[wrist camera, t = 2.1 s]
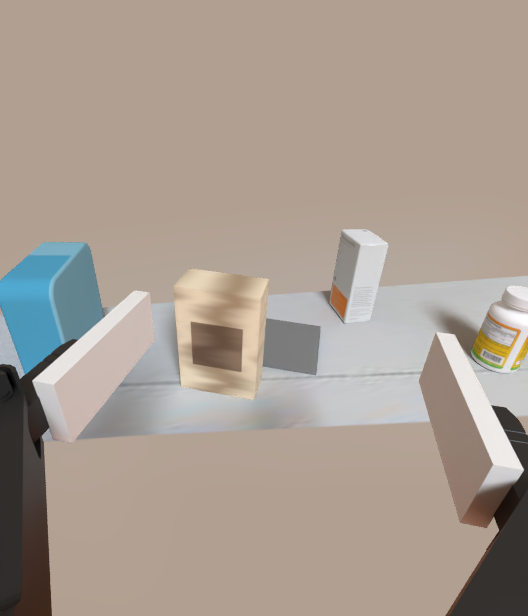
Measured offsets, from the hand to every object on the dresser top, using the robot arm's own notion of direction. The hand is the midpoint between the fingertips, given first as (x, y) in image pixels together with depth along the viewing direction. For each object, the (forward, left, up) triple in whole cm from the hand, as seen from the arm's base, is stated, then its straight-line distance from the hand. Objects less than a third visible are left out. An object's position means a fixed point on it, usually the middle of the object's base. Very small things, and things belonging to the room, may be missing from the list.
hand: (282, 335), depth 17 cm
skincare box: (+7, +34, -18) cm, 39 cm away
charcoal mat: (-5, +23, -17) cm, 29 cm away
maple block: (-7, +15, -17) cm, 24 cm away
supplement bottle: (+25, +27, -18) cm, 41 cm away
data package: (-25, +15, -18) cm, 34 cm away
